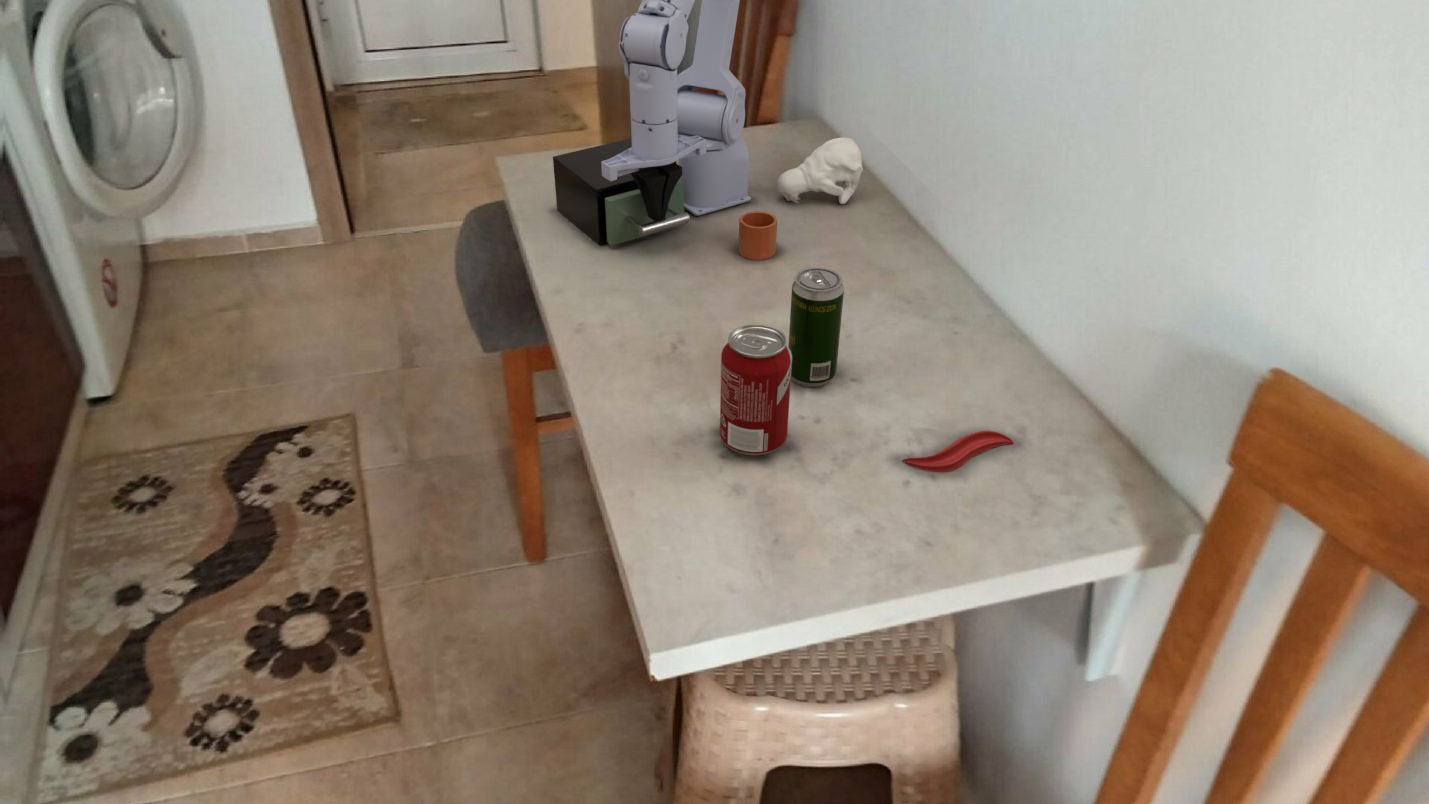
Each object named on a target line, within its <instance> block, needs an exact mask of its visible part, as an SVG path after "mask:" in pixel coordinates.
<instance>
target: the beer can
mask: <svg viewBox="0 0 1429 804" xmlns="http://www.w3.org/2000/svg"><path fill="white" fill-rule="evenodd" d="M844 294H845V288H844V284H843V277H842V276H841V275H840V273H838V272H836V271H835V270H832V269H829V268H825V267H807V268H804V269H802V270H800V271H798V272H796V274H795V276H794V281H793V283H792V284H791V297H790V315H789V330H788V344H787V346H788V348H789V349H790V351H791V353H792V368H791V380H792V381H793V382H794V383H795V384H797V385H799V386H802V387H806V388H820V387H825V386H826V385H829V383H831V382H832V381H833V379H834V378H835V376H836V373H837V368H838V358H839V349H840V347H839V346H840V336H841V325H842V315H843V303H844V296H845V295H844Z"/></svg>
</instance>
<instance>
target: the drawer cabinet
mask: <svg viewBox="0 0 1429 804" xmlns="http://www.w3.org/2000/svg"><path fill="white" fill-rule="evenodd" d="M631 147H632V138H631V137H629V138H626V139H621V140H617V141H614V142H613V141H612V142H608V143H605V144H600V145H597V146H592V147H588V148H583V149H579V150H575V151H571V152H567V153H563V154H558V155H554V156H552V163H553V176H554V187H555V189H554V190H555V200H556V211H557V212H558V213H560V214H561V215H562V216H563V217H564V218H566V219H567V220H568V221H569V222H570V223H572V224H573V225H574V226H575V227H576V228H577V229H579V230H580V231H581V232H583V233H584V234H585V235H586V236H587V237H589V239H591V240H592V241H593V242H595V243H596V244H597V245H598V246H604V245H607V244H609V243H608V242H607V235H605V234H604V233H603V216H602V198H601V193H605V192H609V191H613V190H617V189H620V188H624V187H628V186H632V185H636V182H635V180H634V178H633V177H632V175H631V174H630V173H629V174H625V175H622V176H618V177H617V180H614V181H609V180H607V179H606V178H604V177H603V176H602V167H601V162H602V161H605V160H608V159H610V158H612V157H614V156H616V155H618V154H620V153H622V152H624V151H625V150H627V149H629V148H631Z"/></svg>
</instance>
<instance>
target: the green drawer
mask: <svg viewBox="0 0 1429 804" xmlns="http://www.w3.org/2000/svg"><path fill="white" fill-rule="evenodd" d="M601 198H602V216H603V233H604V234H605V235H607V242H608V244H609V245H610V246H615V245H619V244H622V243H626V242H628V241H632V240H636V239H639V238H643V237H646V236H649V235H653V234H657V233H660V232H664V231H667V230H671V229H674V228H677V227H681V226H684V225H686V224H689V223H690V221H691V220H690V219H691V218H690V215H689V213H688V212H687V211H686V212H685V208H684V181H682V180H681V179H679V181H678V182H677V184H676V186H675V188H674V190H673V192H672V195H671V198H670V201H669V204H668V208H667V212H666V216H665V218H663V219H660V220H656V221H654V220H652V219H651V218H649V217H648V214H647V210H646V207H645V203H644V200H643V197H642V195H641V192H640V190H639V188H638V186H637V184H636V185H632V186H628V187H624V188H620V189H617V190H613V191H609V192H605V193H601Z"/></svg>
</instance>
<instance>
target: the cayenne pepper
mask: <svg viewBox="0 0 1429 804" xmlns="http://www.w3.org/2000/svg"><path fill="white" fill-rule="evenodd" d="M1010 444H1014V441H1013V440H1012V439H1011V438H1010V437H1009V436H1007V435H1005V434H1003V433H1000V432H998V431H993V430H979V431H975V432H973V433H970V434H968V435H965V436H962V437H960V438H959V439H957V440H955V441H954V442H952V443H950V444H949V445H948V446H947V447H945V448H944V449H942V450H940V451H939V452H936V453H935V454H933V455H929V456H923V457H908V458H904V459H902V462H903V463H905V464H906V465H907V466H908V465H909V466H911V467H914V468H917V469H921V470H924V471H929V472H941V473H943V472H951V471H954V470H957V469H959V468H960V467H961V466H963V465H964V464H965V463H966V462H968V461H969V460H970V459H972V458H973V457H975V456H977V455H979V454H981V453H983V452H985V451H989V450H991V449H993V448H997V447H999V446H1003V445H1010Z"/></svg>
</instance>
